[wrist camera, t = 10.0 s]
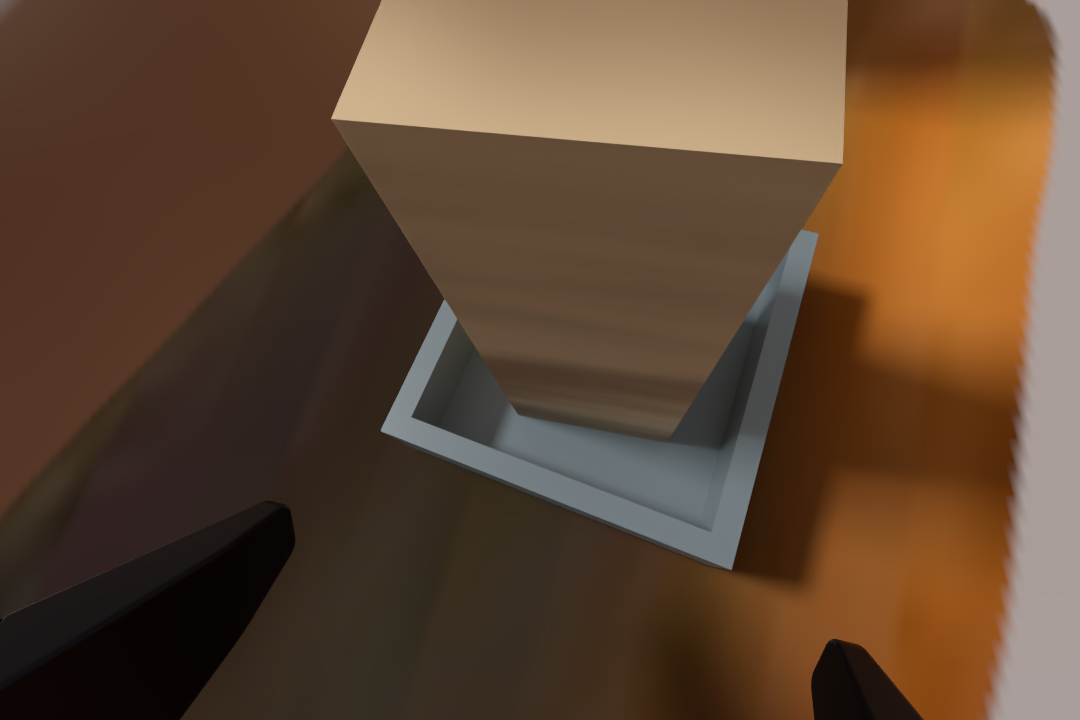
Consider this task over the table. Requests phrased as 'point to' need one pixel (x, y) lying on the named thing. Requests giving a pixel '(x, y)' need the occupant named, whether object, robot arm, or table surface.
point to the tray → (610, 458)
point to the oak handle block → (600, 179)
